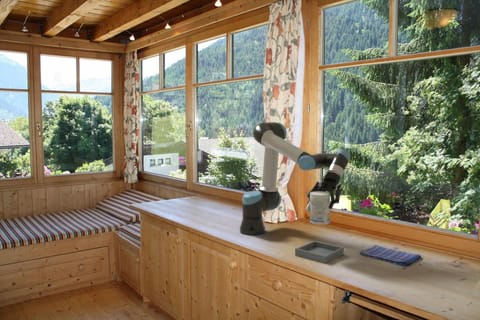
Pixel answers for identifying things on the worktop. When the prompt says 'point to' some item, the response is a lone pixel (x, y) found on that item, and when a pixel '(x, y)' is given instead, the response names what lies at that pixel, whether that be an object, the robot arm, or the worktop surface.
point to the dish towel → (390, 255)
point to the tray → (319, 251)
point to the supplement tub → (319, 207)
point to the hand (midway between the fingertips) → (316, 212)
